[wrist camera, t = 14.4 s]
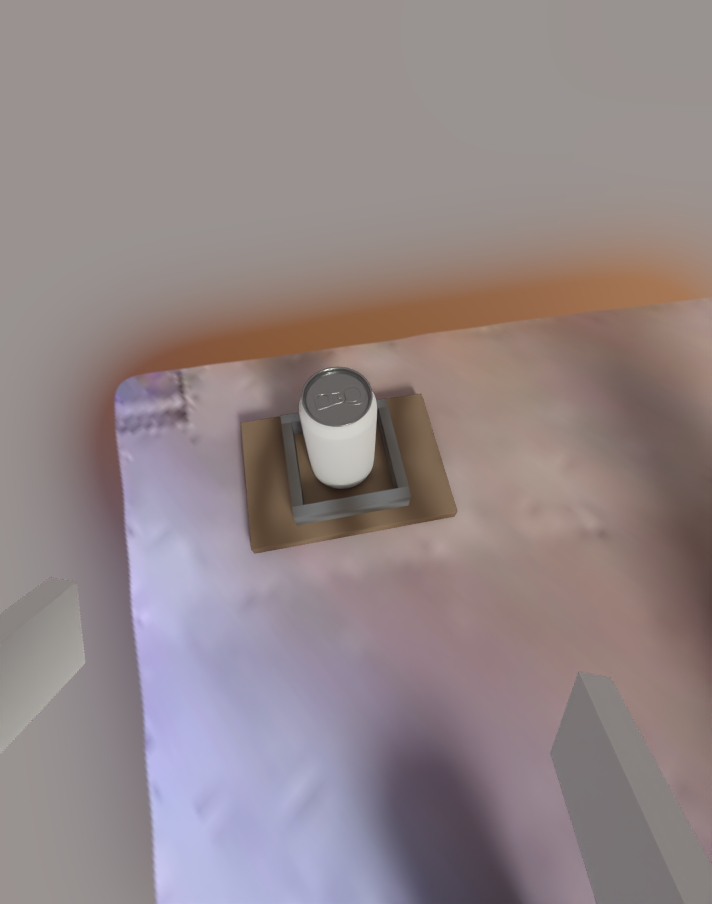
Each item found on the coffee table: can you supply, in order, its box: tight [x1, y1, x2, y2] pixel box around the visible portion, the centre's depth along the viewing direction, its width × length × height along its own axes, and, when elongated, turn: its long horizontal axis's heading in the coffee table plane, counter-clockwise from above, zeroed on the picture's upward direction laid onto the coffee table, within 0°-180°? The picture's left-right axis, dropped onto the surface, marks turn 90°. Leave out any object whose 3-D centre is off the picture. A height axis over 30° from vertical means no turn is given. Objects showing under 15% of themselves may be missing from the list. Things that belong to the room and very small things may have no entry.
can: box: [299, 367, 377, 489], centre depth 40 cm, size 6×6×12 cm
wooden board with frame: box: [241, 394, 457, 553], centre depth 45 cm, size 20×14×4 cm
